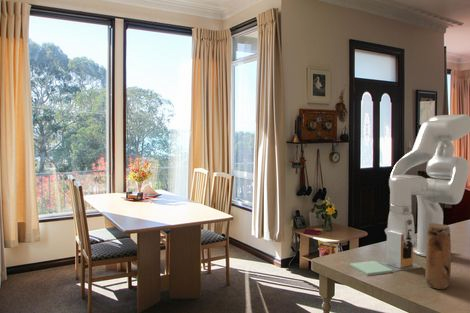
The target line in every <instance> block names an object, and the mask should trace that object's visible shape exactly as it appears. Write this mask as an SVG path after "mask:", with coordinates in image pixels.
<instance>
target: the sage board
mask: <svg viewBox="0 0 470 313" xmlns="http://www.w3.org/2000/svg"><path fill="white" fill-rule="evenodd" d="M378 262H379V261H378ZM378 262H377V261H375V260H370V261H361V262H353V263H349V267H351V268H353V269H355V270H357V271H359V272H360V273H362V274H363V275H365V276H373V275H382V274H389V273H393V272H394V270H392V269H390V268H388V267H386V266H384V265H382V264H380V263H378Z"/></svg>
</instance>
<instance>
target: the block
mask: <svg viewBox="0 0 470 313" xmlns="http://www.w3.org/2000/svg"><path fill="white" fill-rule="evenodd" d="M451 248H452V244H451V228H450V226H449V225H448V224H443V225H441V224H437V223H429V224H428V228H427V246H426V258H425V275H424V276H425V279H424V280H425V283H426V284H427V285H428V287H431V288H434V289H437V290H445V289H446V288H449V286H450V281H451V270H452V269H451V268H452V262H451V261H452V252H451V251H452V250H451Z"/></svg>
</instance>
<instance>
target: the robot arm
mask: <svg viewBox="0 0 470 313" xmlns="http://www.w3.org/2000/svg"><path fill="white" fill-rule="evenodd" d="M469 133H470V116H469V114H462V113H461V114H442V115H434V116H432V117H430V118H429V119H428V120H426V121H424V122H422V124H421V126H420V128H419V130H418V132H417V136H416V138H415V141H414V144H413V146H412V149H411V150H410V151H408V152H407V153H406V154H405V155H403V156H402V157H401V158H400V159H399V160H398V161H397V162H396V163H395V165H394V166H393V169H392V171H391V173H390V176H389V178H388V186H389V192H390V193H389V213H388V217H387V227H386V228H385V229H384V233H385V235H386V237H387V231H390V230H391V231H395V232H398V233H401V234H403V241H404V246H405V248H404V250H403V258H404V259H408V258H411V253H412V248H413V254H415V255H417V256H420V257H426V246H427V228H428V224H429V223H437V224H441V225H444V211H443V208H442V207H441V205H440V204H447V205H457V204H459V203H460V202H461V201H462V199H463V196H464V193H465V189H466V187H467V181H468V179H469V174H470V163H469V161H468V160H467V159H466V157H462V156H454V153H455V145H454V143H453V142H454V141H457V140H460V139H461V138H463V137H465V136H467V135H469ZM425 163H426V167H425V173H426V174H427V176H429V177H430V178H429V177H427V178H425V177H423V176H421V175H416V174H415V175H413V174H406V172H408V171H409V170H410V169H412V168H413V167H416V166H418V165H422V164H425ZM412 196H416V199H417V200H416V202H417V235H416V234H415V232H416V230H415V221H414V220H415V219H414V215H413V214H412V211H413V210H412V198H413V197H412ZM416 236H417V237H416ZM406 238H408V239H406ZM407 242H408V244H407ZM415 245H416V246H415ZM414 246H415V247H414Z"/></svg>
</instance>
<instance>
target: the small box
mask: <svg viewBox="0 0 470 313" xmlns="http://www.w3.org/2000/svg"><path fill="white" fill-rule="evenodd" d="M406 239H408V238H406ZM407 244H408V242H407ZM404 248H405V246H404V241H403V234H401V233H398V232H395V231H391V230H390V231H387V236H386V256H385V257H386V258H385V259H386V260H385V261H386V264H388V265H391V266H394V267H398V268H403V267H406V266H409V265H413V262H414V260H413V259H414V252H413V249H414V247H413V248H412V253H411V258H408V259H404V258H403V250H404Z"/></svg>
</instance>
